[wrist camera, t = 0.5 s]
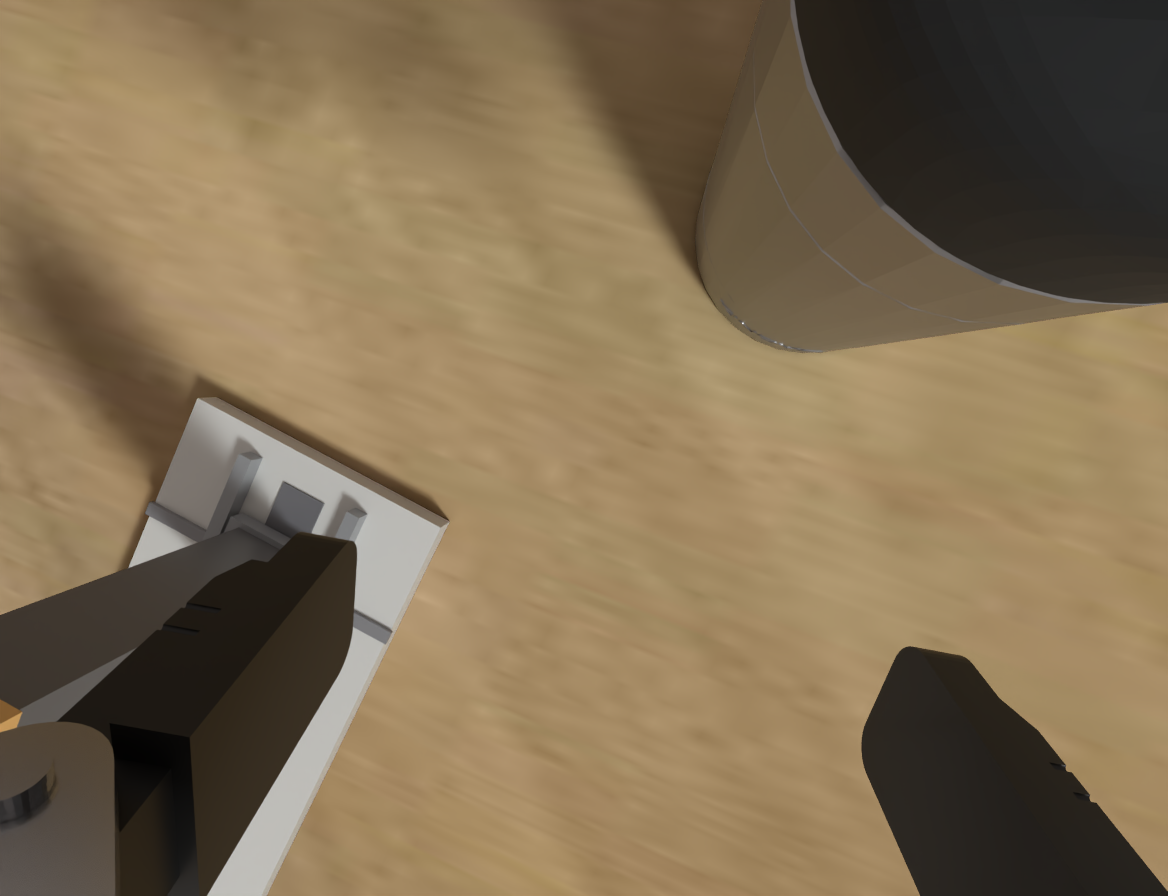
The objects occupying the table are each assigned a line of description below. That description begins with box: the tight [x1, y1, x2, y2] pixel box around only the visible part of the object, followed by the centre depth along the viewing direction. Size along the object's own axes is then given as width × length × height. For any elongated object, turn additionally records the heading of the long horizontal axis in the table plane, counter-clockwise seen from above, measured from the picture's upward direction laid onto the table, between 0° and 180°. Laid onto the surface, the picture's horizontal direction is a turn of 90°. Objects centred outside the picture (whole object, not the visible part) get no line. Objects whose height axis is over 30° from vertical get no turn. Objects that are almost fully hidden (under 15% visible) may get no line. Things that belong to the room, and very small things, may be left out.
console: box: [129, 397, 450, 896], centre depth 29 cm, size 27×13×2 cm, turn 153°
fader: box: [0, 513, 291, 732], centre depth 20 cm, size 4×4×14 cm
